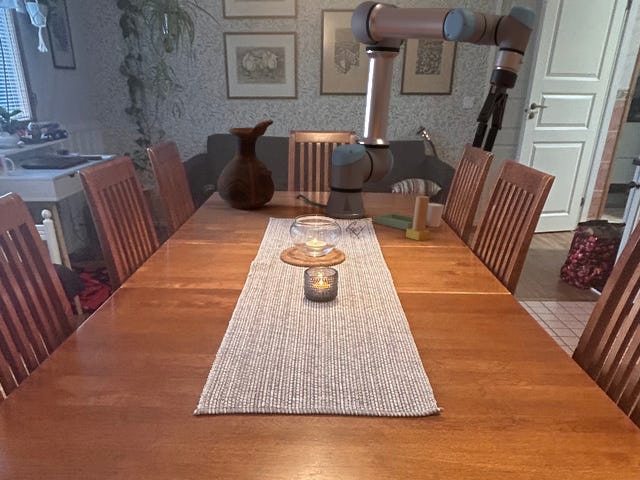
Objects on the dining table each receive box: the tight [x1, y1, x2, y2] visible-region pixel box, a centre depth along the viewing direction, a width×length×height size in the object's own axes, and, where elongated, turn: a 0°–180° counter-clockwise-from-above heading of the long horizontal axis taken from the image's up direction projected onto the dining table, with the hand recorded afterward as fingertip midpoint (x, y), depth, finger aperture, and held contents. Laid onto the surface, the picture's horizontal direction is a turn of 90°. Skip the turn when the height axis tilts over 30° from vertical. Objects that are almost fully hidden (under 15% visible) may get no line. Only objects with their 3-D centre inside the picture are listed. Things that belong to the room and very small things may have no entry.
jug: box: [216, 119, 275, 210], centre depth 222 cm, size 22×22×30 cm
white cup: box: [425, 202, 445, 228], centre depth 210 cm, size 7×7×7 cm
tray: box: [373, 212, 427, 231], centre depth 210 cm, size 15×10×2 cm
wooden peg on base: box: [405, 195, 431, 242], centre depth 190 cm, size 6×5×12 cm
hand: (481, 149), depth 186 cm, fingers open, 13 cm apart
